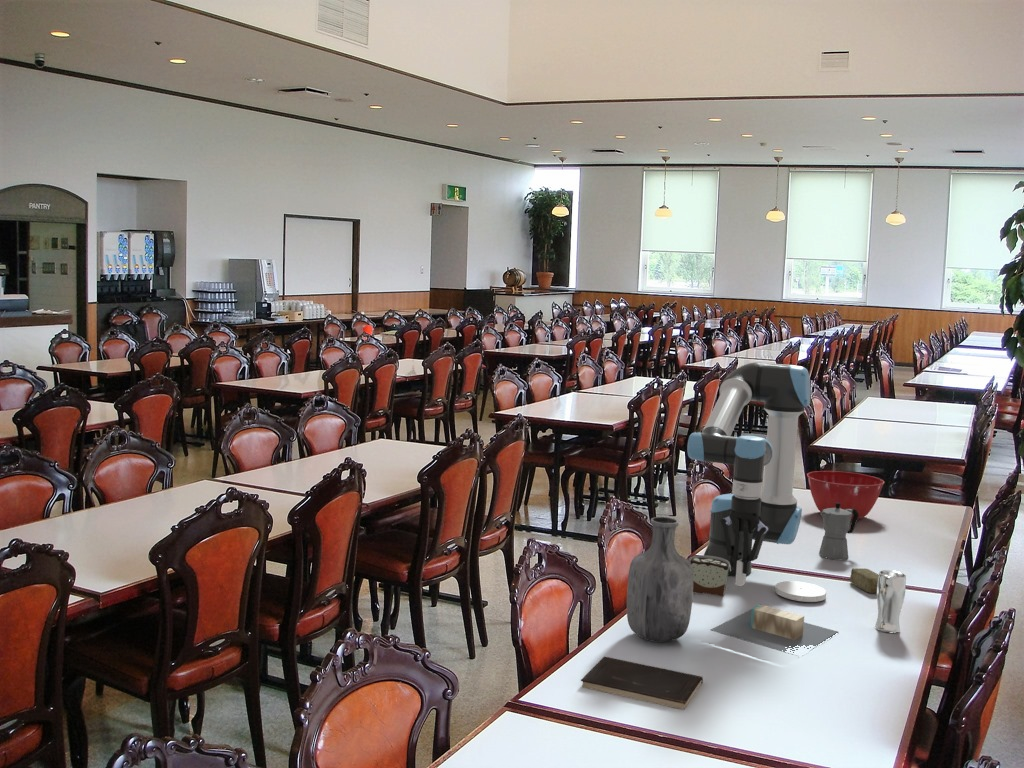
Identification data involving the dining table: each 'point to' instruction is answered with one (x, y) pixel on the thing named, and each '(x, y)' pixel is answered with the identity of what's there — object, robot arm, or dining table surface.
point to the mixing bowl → (844, 490)
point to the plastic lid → (800, 591)
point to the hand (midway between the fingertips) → (740, 584)
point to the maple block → (777, 622)
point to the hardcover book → (642, 682)
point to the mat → (743, 630)
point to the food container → (709, 574)
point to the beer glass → (890, 599)
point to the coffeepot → (837, 531)
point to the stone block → (864, 579)
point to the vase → (660, 587)
